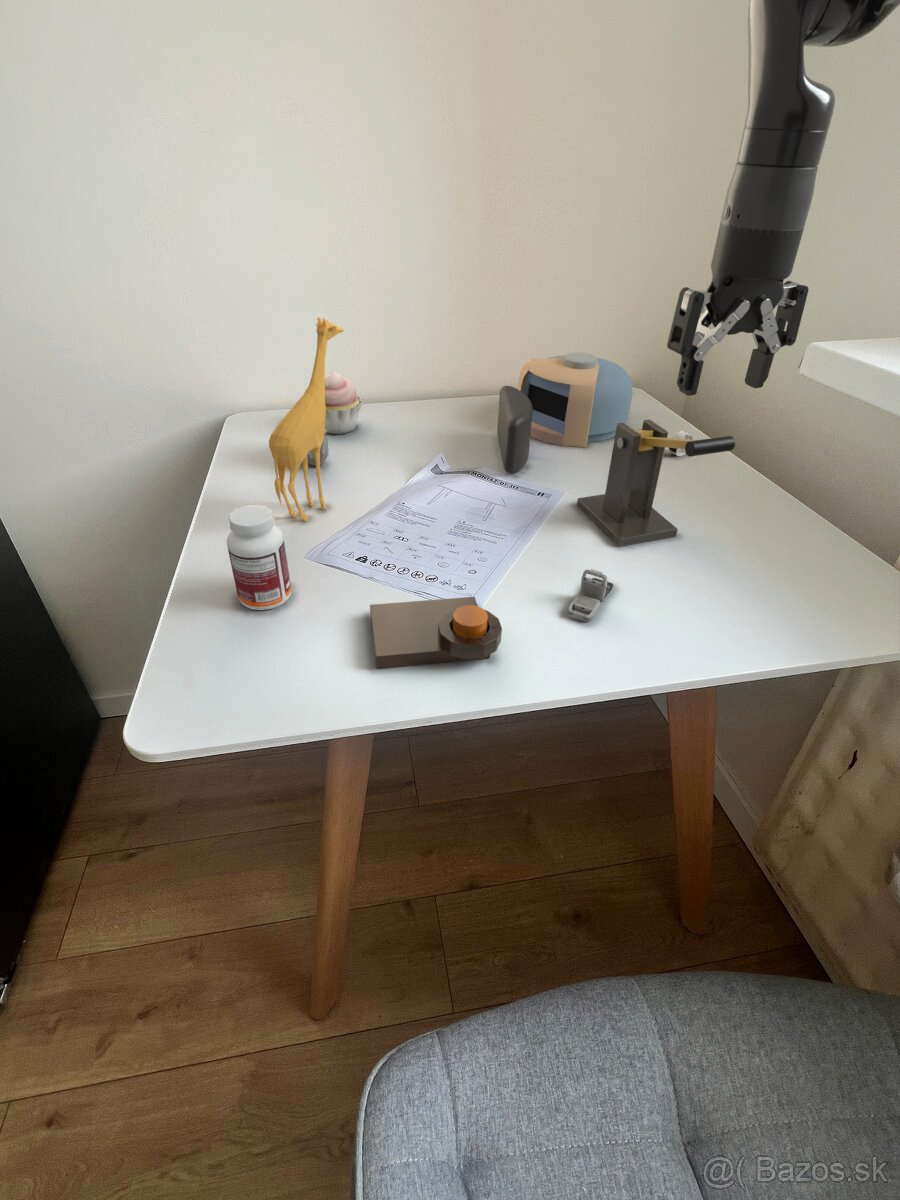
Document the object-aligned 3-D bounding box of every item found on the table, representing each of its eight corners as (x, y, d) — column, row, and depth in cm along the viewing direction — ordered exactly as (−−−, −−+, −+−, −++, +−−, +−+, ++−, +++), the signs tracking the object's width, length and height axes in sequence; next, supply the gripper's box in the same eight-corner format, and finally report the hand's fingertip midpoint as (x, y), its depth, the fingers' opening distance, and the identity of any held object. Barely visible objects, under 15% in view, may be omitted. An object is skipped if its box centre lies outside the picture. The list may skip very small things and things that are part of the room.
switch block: (484, 607, 81) (486, 582, 79) (504, 668, 73) (507, 642, 71) (370, 616, 79) (369, 591, 77) (377, 680, 71) (376, 654, 69)
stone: (350, 466, 111) (345, 405, 105) (314, 479, 107) (308, 416, 101) (315, 447, 116) (310, 388, 110) (281, 459, 112) (272, 398, 106)
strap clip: (589, 624, 79) (595, 594, 77) (565, 616, 80) (569, 585, 78) (614, 587, 85) (620, 558, 83) (591, 580, 86) (596, 551, 84)
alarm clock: (495, 421, 127) (499, 354, 120) (566, 397, 138) (574, 334, 131) (577, 456, 116) (587, 383, 108) (647, 426, 127) (660, 358, 119)
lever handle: (735, 454, 79) (735, 432, 78) (693, 460, 77) (694, 438, 77) (651, 446, 94) (651, 428, 93) (616, 451, 92) (615, 433, 92)
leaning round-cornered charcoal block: (533, 478, 109) (539, 420, 103) (504, 478, 108) (508, 419, 103) (522, 436, 122) (526, 382, 116) (495, 436, 122) (499, 382, 116)
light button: (483, 616, 75) (484, 603, 74) (490, 638, 72) (491, 624, 71) (450, 619, 74) (450, 606, 73) (455, 641, 71) (456, 627, 70)
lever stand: (676, 536, 95) (699, 441, 87) (618, 546, 93) (636, 450, 85) (630, 496, 104) (647, 407, 96) (576, 505, 102) (589, 414, 94)
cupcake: (351, 414, 128) (348, 359, 122) (373, 432, 122) (370, 375, 116) (303, 423, 125) (297, 367, 119) (322, 442, 118) (317, 383, 112)
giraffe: (339, 480, 107) (325, 308, 92) (363, 486, 105) (353, 312, 90) (269, 526, 95) (240, 338, 80) (294, 535, 93) (270, 344, 79)
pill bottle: (261, 576, 85) (248, 496, 79) (302, 590, 83) (292, 509, 77) (226, 602, 81) (209, 520, 74) (269, 618, 79) (254, 534, 72)
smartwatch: (683, 450, 118) (688, 428, 116) (692, 455, 117) (697, 432, 114) (666, 454, 117) (671, 431, 115) (675, 459, 115) (680, 436, 113)
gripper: (724, 229, 61) (684, 408, 71) (852, 224, 65) (798, 394, 74) (675, 217, 67) (644, 384, 76) (795, 213, 71) (752, 373, 80)
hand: (720, 389), depth 75 cm, fingers open, 8 cm apart
